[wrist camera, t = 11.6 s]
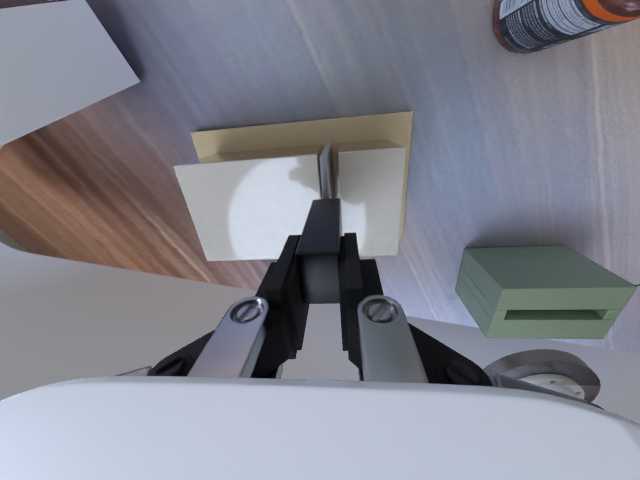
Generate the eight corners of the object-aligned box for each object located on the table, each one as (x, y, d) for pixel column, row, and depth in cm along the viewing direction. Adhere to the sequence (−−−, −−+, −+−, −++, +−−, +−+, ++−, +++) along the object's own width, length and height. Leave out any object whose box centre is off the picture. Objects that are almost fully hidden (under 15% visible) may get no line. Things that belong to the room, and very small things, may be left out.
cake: (400, 234, 26) (421, 275, 19) (228, 241, 28) (193, 280, 21) (410, 110, 20) (444, 107, 14) (195, 131, 23) (134, 137, 16)
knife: (319, 143, 19) (283, 189, 7) (339, 141, 18) (336, 185, 7) (325, 223, 22) (308, 343, 10) (342, 223, 22) (344, 344, 10)
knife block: (564, 244, 25) (638, 286, 19) (544, 289, 28) (603, 339, 21) (464, 248, 26) (502, 289, 20) (454, 290, 29) (485, 338, 23)
